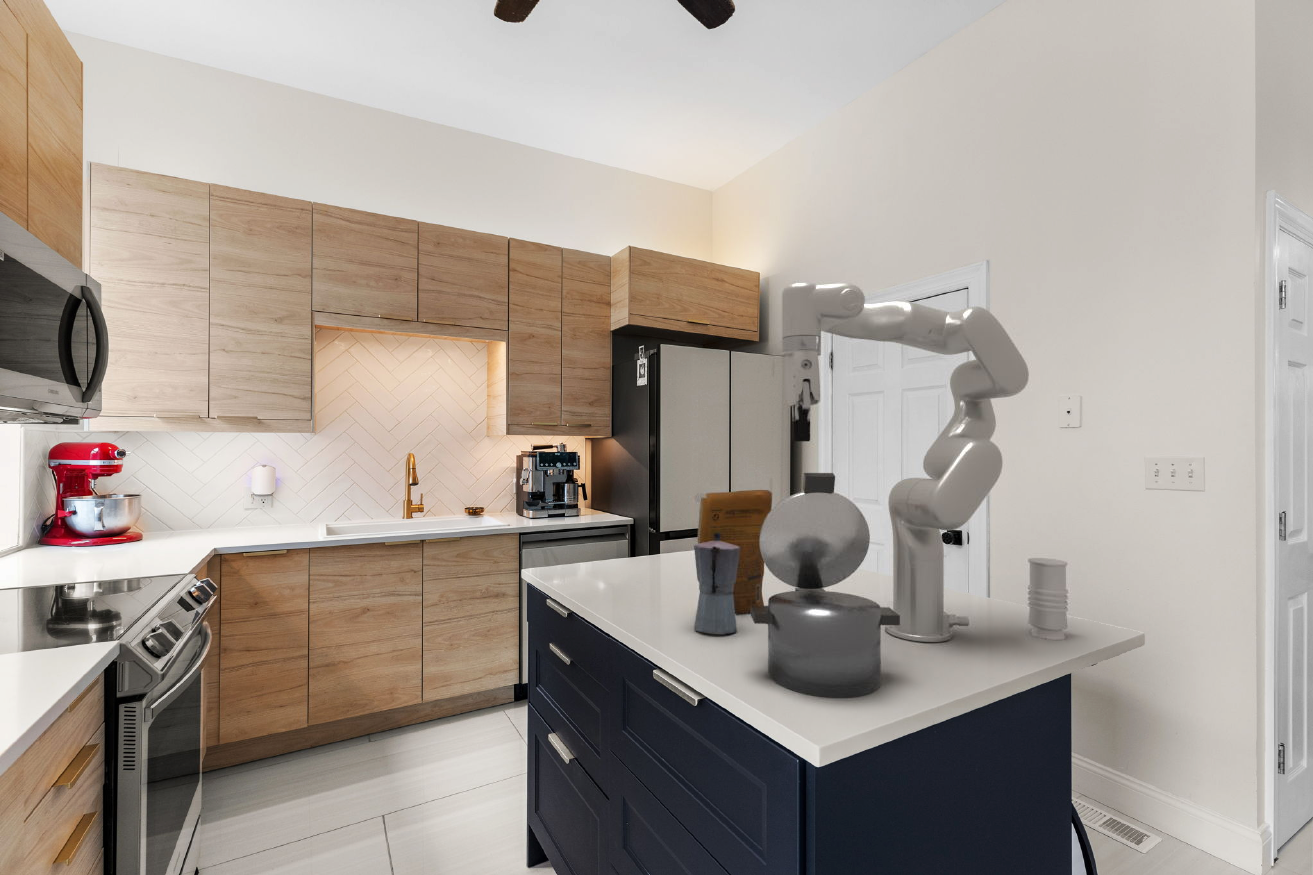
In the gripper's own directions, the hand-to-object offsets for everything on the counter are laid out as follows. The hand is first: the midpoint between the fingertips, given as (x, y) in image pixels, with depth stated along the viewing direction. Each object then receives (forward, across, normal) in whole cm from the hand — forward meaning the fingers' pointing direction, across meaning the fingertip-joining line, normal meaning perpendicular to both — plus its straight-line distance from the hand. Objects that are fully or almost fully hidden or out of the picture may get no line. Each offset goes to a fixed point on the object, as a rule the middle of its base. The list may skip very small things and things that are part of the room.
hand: (801, 441), depth 121 cm
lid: (+17, -12, 0) cm, 21 cm away
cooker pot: (+39, -18, 0) cm, 43 cm away
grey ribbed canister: (+39, +6, -51) cm, 65 cm away
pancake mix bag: (+39, +20, +11) cm, 45 cm away
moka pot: (+39, +6, +16) cm, 43 cm away
